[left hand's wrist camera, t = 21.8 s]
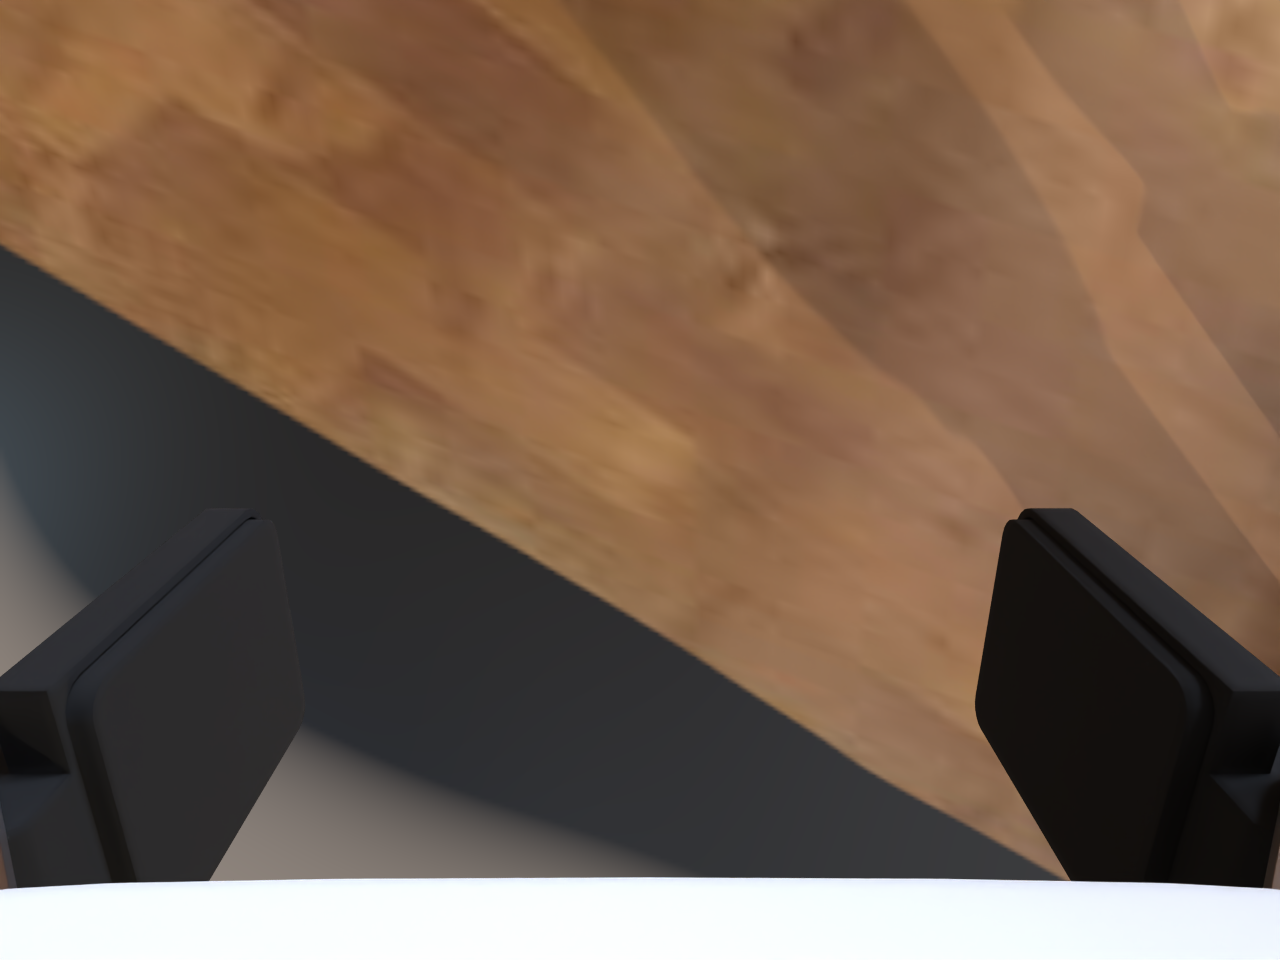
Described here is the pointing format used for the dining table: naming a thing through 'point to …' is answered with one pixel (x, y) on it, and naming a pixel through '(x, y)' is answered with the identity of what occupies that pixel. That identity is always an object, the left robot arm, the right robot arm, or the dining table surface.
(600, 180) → the dining table surface
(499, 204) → the dining table surface
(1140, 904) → the left robot arm
